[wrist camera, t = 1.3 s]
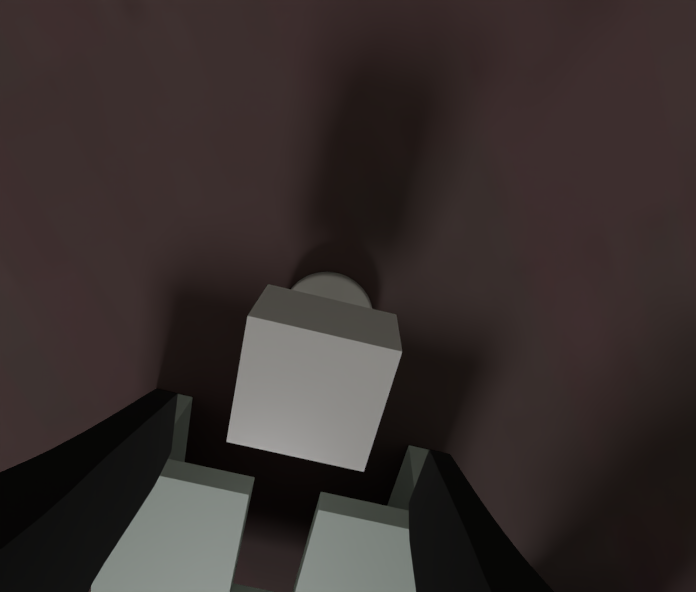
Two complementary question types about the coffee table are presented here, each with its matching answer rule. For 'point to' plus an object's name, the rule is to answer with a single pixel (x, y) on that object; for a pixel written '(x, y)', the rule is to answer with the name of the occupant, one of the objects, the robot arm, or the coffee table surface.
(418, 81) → the coffee table surface
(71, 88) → the coffee table surface
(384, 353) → the peg
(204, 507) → the slot bracket
